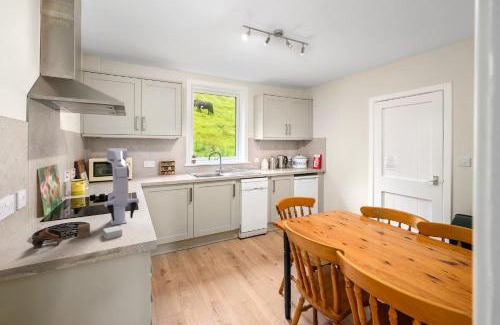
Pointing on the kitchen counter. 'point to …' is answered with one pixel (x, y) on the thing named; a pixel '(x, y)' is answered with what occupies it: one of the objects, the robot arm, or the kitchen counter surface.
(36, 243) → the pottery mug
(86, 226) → the walnut block
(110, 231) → the base block
